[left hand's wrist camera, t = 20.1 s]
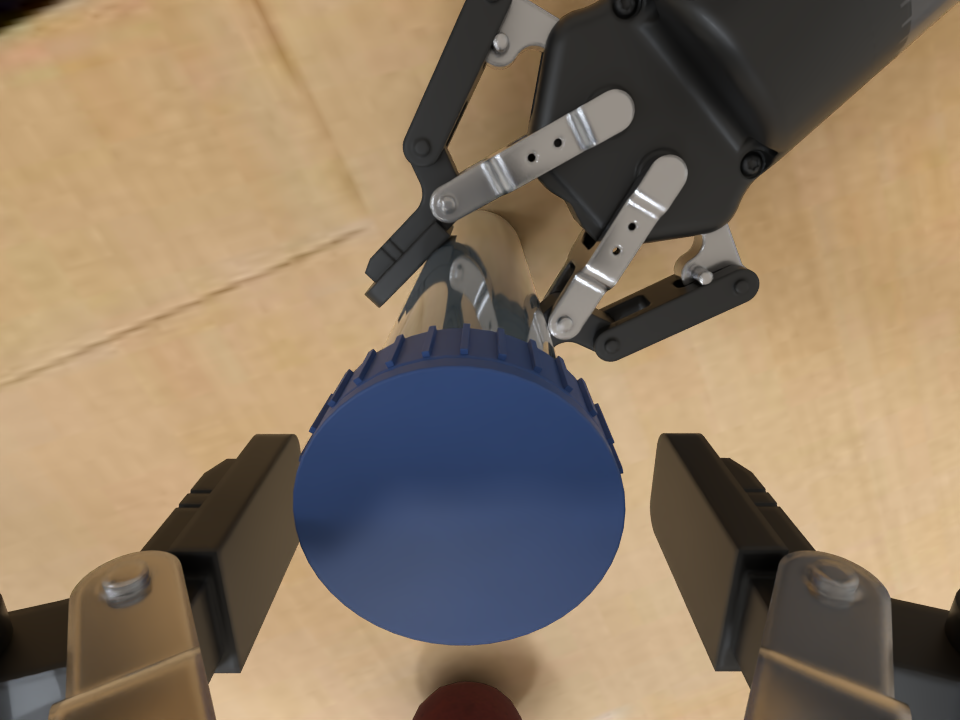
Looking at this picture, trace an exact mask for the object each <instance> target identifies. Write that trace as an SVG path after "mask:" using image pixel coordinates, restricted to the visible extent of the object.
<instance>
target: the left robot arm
mask: <svg viewBox="0 0 960 720" xmlns="http://www.w3.org/2000/svg"><path fill="white" fill-rule="evenodd" d="M300 455H301V451H300V444H299V440H298V438H297V436H296V435H295V434H256V435H254V437H253V438H252V439H251V440H250V442H249V443H248V444H247V446H246V447H245V448H244V449H243V451H242V452H241V453H240V455H239V456H238V457H237V459H226V460H224V461H223V462H221V463H220V464H218V465H217V466H215V467H214V468H212V469H210V470H209V471H207V472H206V473H204V474H203V476H202V477H201V478H200V479H199V481H198V482H197V483H196V484H195V485H194V487H193V488H192V489H191V493H190V494H187V495H186V496H185V498H184V499H183V500H182V501H181V502H180V504H179V508H176V509H175V510H174V511H173V512H172V513H171V515H170V516H169V517H168V518H167V519H166V521H165V522H164V523H163V524H162V526H161V527H160V528H159V529H158V530H157V532H156V533H155V534H154V535H153V536H152V538H151V539H150V540H149V541H148V543H147V544H146V545H145V546H144V547H143V549H142V550H141V551H140V552H135V553H131V554H127V555H124V556H121V557H118V558H116V559H113V560H111V561H109V562H107V563H105V564H103V565H101V566H99V567H98V568H96V569H95V570H93V571H92V572H90V573H89V574H88V575H86V576H85V577H84V578H83V579H82V580H81V581H80V582H79V583H78V584H77V585H76V587H75V588H74V590H73V591H72V593H71V595H70V598H69V599H65V600H61V601H57V602H52V603H47V604H43V605H38V606H34V607H29V608H24V609H20V610H15V611H11V612H7V609H6V606H5V603H4V601H3V598H2V595H1V594H0V720H216V716H215V712H214V707H213V703H212V698H211V694H210V690H209V685H208V684H209V682H210V680H211V678H212V676H213V674H214V673H241V671H242V669H243V666H244V664H245V662H246V660H247V657H248V655H249V653H250V651H251V648H252V646H253V644H254V642H255V639H256V637H257V635H258V633H259V631H260V628H261V626H262V624H263V622H264V619H265V617H266V615H267V613H268V610H269V608H270V606H271V604H272V601H273V599H274V597H275V595H276V593H277V590H278V588H279V586H280V584H281V581H282V579H283V577H284V575H285V572H286V570H287V568H288V566H289V564H290V561H291V559H292V557H293V555H294V552H295V550H296V548H297V546H298V543H299V538H298V535H297V531H296V528H295V521H294V513H293V489H294V484H295V478H296V472H297V469H298V467H299V464H300V462H299V457H300ZM765 490H766V489H765V488H764V487H763V485H762V484H761V483H760V482H759V480H758V479H757V478H756V477H755V475H754V474H753V473H752V472H751V471H749V470H747V469H746V468H744V467H743V466H741V465H740V464H738V463H737V462H735V461H733V460H732V459H730V458H720V457H719V456H718V455H717V453H716V452H715V451H714V449H713V448H712V447H711V445H710V444H709V443H708V441H707V440H706V439H705V437H704V436H703V435H702V434H700V433H663V434H661V435H660V437H659V439H658V443H657V450H656V459H655V467H654V475H653V483H652V491H651V500H650V515H651V522H652V527H653V531H654V533H655V536H656V538H657V540H658V543H659V545H660V547H661V549H662V552H663V554H664V556H665V558H666V561H667V563H668V565H669V567H670V570H671V572H672V574H673V577H674V579H675V581H676V583H677V586H678V588H679V590H680V592H681V595H682V597H683V599H684V601H685V604H686V606H687V608H688V611H689V613H690V615H691V617H692V620H693V622H694V624H695V626H696V629H697V631H698V633H699V635H700V638H701V640H702V642H703V645H704V647H705V649H706V651H707V654H708V656H709V658H710V660H711V663H712V665H713V667H714V669H715V671H742V673H743V675H744V677H745V679H746V681H747V683H748V685H749V687H750V689H751V690H750V694H749V698H748V703H747V707H746V712H745V716H744V720H960V589H959V590H958V592H957V593H956V595H955V598H954V601H953V604H952V606H951V609H950V611H948V610H943V609H938V608H934V607H929V606H925V605H920V604H915V603H911V602H906V601H902V600H897V599H893V598H890V595H889V593H888V591H887V590H886V588H885V587H884V585H883V584H882V583H881V582H880V581H879V580H878V579H877V578H876V577H875V576H874V575H872V574H871V573H870V572H868V571H867V570H865V569H864V568H862V567H861V566H859V565H857V564H855V563H853V562H851V561H849V560H847V559H844V558H842V557H839V556H836V555H833V554H829V553H825V552H819V551H816V550H815V549H814V548H813V547H812V546H811V544H810V543H809V542H808V541H807V539H806V538H805V537H804V536H803V535H802V533H801V532H800V531H799V530H798V528H797V527H796V526H795V525H794V523H793V522H792V521H791V520H790V519H789V517H788V516H787V515H786V514H785V512H784V511H783V510H782V509H781V507H777V503H776V501H775V500H774V499H773V498H772V496H771V495H770V494H769V493H768V492H766V491H765Z"/></svg>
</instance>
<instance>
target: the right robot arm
mask: <svg viewBox="0 0 960 720" xmlns="http://www.w3.org/2000/svg"><path fill="white" fill-rule="evenodd" d="M959 1H960V0H599V1H597V2H596V3H594V4H592V5H590V6H588V7H585V8H582V9H578V10H575V11H572V12H570V13H568V14H566V15H565V16H563V17H562V18H561V19H558V18H557V17H555V16H554V15H552V14H550V13H549V12H547V11H545V10H544V9H542V8H540V7H539V6H537V5H535V4H534V3H532V2H531V1H529V0H466V1H465V3H464V5H463V8H462V10H461V12H460V14H459V17H458V19H457V21H456V23H455V26H454V28H453V30H452V32H451V35H450V37H449V39H448V41H447V44H446V46H445V48H444V50H443V53H442V55H441V57H440V60H439V62H438V64H437V66H436V69H435V71H434V73H433V75H432V78H431V80H430V82H429V84H428V87H427V89H426V91H425V93H424V96H423V98H422V100H421V102H420V105H419V107H418V109H417V111H416V114H415V116H414V118H413V120H412V123H411V125H410V127H409V129H408V132H407V134H406V136H405V139H404V141H403V152H404V155H405V157H406V159H407V160H408V161H409V162H410V163H411V165H412V167H413V169H414V171H415V173H416V175H417V178H418V180H419V182H420V184H421V187H422V200H421V203H420V205H419V207H418V209H417V210H416V211H415V212H414V213H413V214H412V215H411V216H410V217H409V218H408V219H407V220H406V221H405V223H404V224H403V225H402V226H401V227H400V228H399V229H398V230H397V231H396V232H395V233H394V234H393V235H392V236H391V237H390V238H389V239H388V240H387V242H386V243H385V244H384V245H383V246H382V247H381V248H380V249H379V250H378V251H377V252H376V253H375V254H374V255H373V256H372V257H371V258H370V261H369V263H368V266H367V269H366V271H365V273H366V274H367V275H368V276H369V277H370V278H371V279H372V280H373V281H374V283H373V284H372V285H371V287H370V288H369V289H368V291H367V292H366V293H365V295H366V296H367V297H368V298H369V299H370V300H371V301H372V302H373V303H374V304H375V305H376V306H377V307H379V308H380V307H381V306H382V305H383V304H384V303H385V302H386V301H387V300H388V299H389V298H390V297H391V296H392V295H393V294H394V293H395V292H396V291H397V290H398V289H399V288H400V287H401V286H402V285H403V284H404V283H405V282H406V281H407V280H408V279H409V278H410V277H411V276H412V275H413V274H414V273H415V272H416V271H417V270H418V269H419V268H420V267H421V266H422V265H423V264H424V263H425V261H426V260H427V259H428V258H429V257H430V256H431V255H432V254H433V253H434V252H435V251H436V250H437V249H438V248H439V247H440V246H441V245H442V244H443V243H444V242H445V241H446V240H447V239H448V238H449V237H450V236H451V233H452V231H453V228H454V226H453V224H454V223H455V222H456V221H457V220H459V219H461V218H463V217H465V216H466V215H468V214H470V213H472V212H473V211H475V210H477V209H479V208H481V207H482V206H484V205H486V204H488V203H490V202H491V201H493V200H495V199H497V198H498V197H500V196H502V195H505V194H508V193H510V192H512V191H514V190H516V189H518V188H519V187H521V186H523V185H525V184H527V183H528V182H530V181H532V180H534V179H535V178H537V179H538V180H539V181H540V182H541V183H542V184H543V185H544V186H545V187H546V188H547V189H548V190H549V191H551V192H552V193H554V194H555V195H557V196H559V197H560V198H562V199H564V200H565V202H566V204H567V206H568V208H569V210H570V212H571V214H572V216H573V218H574V219H575V220H576V221H577V222H578V223H579V225H580V226H581V227H582V228H583V230H582V232H581V233H580V235H579V237H578V238H577V240H576V241H575V243H574V245H573V246H572V248H571V250H570V252H569V255H568V259H567V261H566V263H565V265H564V266H563V268H562V269H561V271H560V273H559V274H558V276H557V278H556V279H555V281H554V282H553V284H552V286H551V287H550V289H549V291H548V292H547V294H546V295H545V297H544V299H543V301H542V302H541V303H540V305H541V308H542V311H543V314H544V317H545V321H546V324H547V327H548V330H549V333H550V336H551V339H552V342H553V346H554V347H555V346H556V345H558V344H560V343H564V342H574V343H577V344H579V345H582V346H584V347H586V348H588V349H590V350H592V351H595V352H596V354H597V355H598V357H599V358H601V359H602V360H604V361H608V362H613V361H617V360H619V359H621V358H624V357H626V356H628V355H630V354H632V353H635V352H637V351H639V350H641V349H643V348H646V347H648V346H650V345H652V344H655V343H657V342H659V341H661V340H663V339H666V338H668V337H670V336H672V335H674V334H677V333H679V332H681V331H683V330H686V329H688V328H690V327H692V326H694V325H697V324H699V323H701V322H703V321H705V320H708V319H710V318H712V317H714V316H717V315H719V314H721V313H723V312H725V311H728V310H730V309H732V308H734V307H736V306H739V305H741V304H743V303H745V302H747V301H749V300H751V299H752V298H753V297H754V296H755V295H756V293H757V291H758V289H759V279H758V277H757V275H756V274H755V273H754V272H753V271H751V270H749V269H747V268H746V267H745V266H743V265H742V263H741V260H740V257H739V254H738V251H737V249H736V246H735V243H734V240H733V237H732V234H731V232H730V229H729V226H728V222H729V221H730V220H731V219H732V217H733V216H734V214H735V213H736V211H737V209H738V206H739V204H740V201H741V199H742V197H743V195H744V194H745V192H746V190H747V189H748V187H749V186H750V185H751V183H752V182H753V181H754V180H755V179H756V178H757V177H758V176H760V175H761V174H762V173H764V172H765V171H766V170H767V169H769V168H770V167H771V166H772V165H774V164H775V163H776V162H777V161H779V160H780V159H781V158H782V157H783V156H784V155H785V154H787V153H788V152H789V151H790V150H791V149H792V148H793V147H795V146H796V145H797V144H798V143H799V142H800V141H801V140H802V139H804V138H805V137H806V136H807V135H808V134H809V133H810V132H812V131H813V130H814V129H815V128H816V127H817V126H818V125H820V124H821V123H822V122H823V121H824V120H825V119H826V118H827V117H829V116H830V115H831V114H832V113H833V112H834V111H835V110H837V109H838V108H839V107H840V106H841V105H842V104H843V103H844V102H846V101H847V100H848V99H849V98H850V97H851V96H852V95H854V94H855V93H856V92H857V91H858V90H859V89H860V88H861V87H863V86H864V85H865V84H866V83H867V82H868V81H869V80H870V79H872V78H873V77H874V76H875V75H876V74H877V73H878V72H880V71H881V70H882V69H883V68H884V67H885V66H886V65H888V64H889V63H890V62H891V61H892V60H893V59H894V58H896V57H897V56H898V55H899V54H900V53H901V52H902V51H903V50H905V49H906V48H907V47H908V46H909V45H910V44H911V43H913V42H914V41H915V40H916V39H917V38H918V37H919V36H920V35H922V34H923V33H924V32H925V31H926V30H927V29H928V28H930V27H931V26H932V25H933V24H934V23H935V22H936V21H937V20H939V19H940V18H941V17H942V16H943V15H944V14H945V13H947V12H948V11H949V10H950V9H951V8H952V7H953V6H955V5H956V4H957V3H958V2H959ZM527 50H538V51H540V52H542V55H541V60H540V66H539V71H538V77H537V82H536V88H535V93H534V99H533V105H532V110H531V116H530V121H529V127H528V132H527V134H525V135H524V136H522V137H520V138H518V139H517V140H515V141H513V142H511V143H510V144H508V145H506V146H504V147H503V148H501V149H499V150H498V151H496V152H494V153H492V154H491V155H489V156H488V157H486V158H484V159H483V160H481V161H479V162H478V163H476V164H474V165H472V166H471V167H469V168H467V169H465V170H464V171H462V172H460V173H458V171H457V168H456V166H455V164H454V162H453V159H452V157H451V155H450V153H449V151H448V145H449V143H450V141H451V139H452V137H453V135H454V133H455V131H456V128H457V126H458V124H459V122H460V120H461V118H462V116H463V114H464V112H465V109H466V107H467V105H468V103H469V101H470V99H471V97H472V95H473V92H474V90H475V88H476V86H477V84H478V82H479V80H480V78H481V75H482V73H483V71H484V69H485V67H486V65H487V66H489V67H491V68H493V69H496V70H503V69H506V68H508V67H509V66H511V65H512V64H513V63H514V61H515V60H516V58H517V57H518V56H519V55H520V54H521V53H522V52H524V51H527ZM690 236H694V243H693V245H692V247H691V248H690V250H689V251H688V252H686V253H685V254H683V255H682V256H681V257H679V259H678V260H677V261H676V263H675V266H674V275H672V276H669V277H667V278H665V279H663V280H661V281H659V282H657V283H655V284H652V285H650V286H648V287H646V288H644V289H642V290H640V291H638V292H635V293H633V294H631V295H629V296H627V297H625V298H623V299H621V300H618V301H616V302H614V303H612V304H610V305H608V306H606V307H604V308H601V309H599V310H598V309H596V308H595V307H596V306H597V304H598V303H599V301H600V300H601V298H602V297H603V295H604V294H605V293H606V291H608V290H610V289H611V288H613V287H614V286H615V284H616V283H617V282H618V280H619V279H620V277H621V276H622V274H623V273H624V271H625V270H626V268H627V267H628V265H629V264H630V262H631V261H632V259H633V257H634V256H635V254H636V253H637V251H638V250H639V248H640V247H641V245H642V244H644V243H650V242H657V241H664V240H670V239H677V238H683V237H690ZM616 247H617V250H616V251H615V252H613V249H614V248H616Z"/></svg>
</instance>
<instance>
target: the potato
mask: <svg viewBox="0 0 960 720" xmlns="http://www.w3.org/2000/svg"><path fill="white" fill-rule="evenodd" d="M413 720H522V719H521V717H520V715H519V713H518V711H517V709H516V708H515V706H514V705H513V703H512V702H511V700H509V699H508V698H507V697H506V696H505V695H504V694H502V693H501V692H500V691H499V690H497V689H496V688H494V687H491V686H489V685H486V684H483V683H478V682H456V683H453V684H450V685H446V686H443V687H439V688H438V689H437V690H436V691H435V692H434V693H432V694H431V695H430V696H429V697H428V698H427V699H426V700H425V701H424V702H423V703H422V704H421V705H420V706H419V708H418V710H417V712H416V714H415V716H414V718H413Z"/></svg>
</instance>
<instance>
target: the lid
mask: <svg viewBox="0 0 960 720" xmlns="http://www.w3.org/2000/svg"><path fill="white" fill-rule="evenodd" d="M309 432H311V433H313V434H312V436H311V437H310V439H309V441H308V443H307V444H306V446H305V448H304V449H303V451H302V453H301V455H300V457H299V462H300V464H299V467H298V469H297V472H296V478H295V484H294V489H293V513H294V521H295V528H296V531H297V535H298V538H299V541H300V545H301V547H302V550H303V552H304V554H305V556H306V558H307V560H308V563H309V564H310V566H311V567H312V569H313V570H314V572H315V573H316V575H317V577H318V578H319V579H320V580H321V582H322V583H323V584H324V585H325V586H326V588H327V589H328V590H329V591H330V592H331V593H332V594H333V595H334V596H335V597H336V598H337V599H338V600H339V601H341V602H342V603H343V604H344V605H345V606H346V607H348V608H349V609H351V610H352V611H353V612H355V613H356V614H357V615H359V616H360V617H362V618H364V619H366V620H367V621H369V622H371V623H373V624H374V625H376V626H378V627H381V628H383V629H385V630H388V631H390V632H392V633H395V634H398V635H401V636H404V637H407V638H410V639H414V640H419V641H424V642H429V643H435V644H444V645H480V644H491V643H496V642H501V641H506V640H510V639H514V638H517V637H520V636H523V635H527V634H529V633H532V632H534V631H536V630H539V629H541V628H543V627H546V626H547V625H549V624H551V623H553V622H554V621H556V620H558V619H560V618H562V617H563V616H564V615H566V614H567V613H568V612H570V611H571V610H573V609H574V608H575V607H577V606H578V605H579V604H580V603H581V602H582V601H583V600H584V599H585V598H586V597H587V596H588V595H589V594H590V593H591V592H592V591H593V590H594V589H595V587H596V586H597V585H598V584H599V582H600V581H601V580H602V579H603V577H604V575H605V574H606V572H607V570H608V569H609V567H610V566H611V564H612V561H613V559H614V557H615V555H616V552H617V550H618V548H619V544H620V540H621V536H622V533H623V529H624V519H625V494H624V488H623V483H622V479H621V474H622V473H623V469H622V466H621V463H620V461H619V458H618V456H617V453H616V451H615V448H614V446H613V443H614V440H613V438H612V435H611V433H610V430H609V428H608V426H607V423H606V421H605V418H604V416H603V414H602V411H601V409H600V407H599V404H598V403H597V404H595V405H594V403H593V401H592V398H591V396H590V393H589V391H588V388H587V386H586V383H585V381H584V380H583V379H582V378H580V379H579V380H576V378H575V377H574V376H573V375H572V374H571V373H570V372H569V371H568V370H567V369H566V366H565V363H564V360H563V359H562V358H561V357H560V356H558V357H557V358H556V359H554V358H552V357H551V356H550V355H548V354H547V353H546V352H544V351H542V350H540V349H539V348H537V344H536V341H534V340H532V339H530V340H529V341H528V343H527V342H525V341H522V340H520V339H517V338H515V337H512V336H509V335H505V332H504V329H502V328H497V332H493V331H488V330H480V329H472V328H470V324H466V323H464V324H463V328H450V329H442V330H437V329H436V325H434V326H429V329H428V332H424V333H420V334H417V335H413V336H410V337H407V338H405V337H404V335H403V334H401V335H399V336H397V337H396V339H395V342H394V343H393V344H391V345H389V346H387V347H386V348H384V349H382V350H380V351H378V352H377V353H376V351H375V350H374V349H372V350H371V351H370V352H368V354H367V356H366V358H365V360H364V362H363V363H362V364H361V365H360V366H359V367H358V368H357V369H356V370H355V371H354V372H352V371H351V370H350V369H349V370H348V371H347V372H346V373H345V375H344V377H343V378H342V380H341V382H340V383H339V385H338V387H337V388H336V390H335V392H334V394H331V395H330V396H329V398H328V400H327V401H326V403H325V405H324V406H323V408H322V410H321V411H320V413H319V415H318V416H317V418H316V420H315V421H314V423H313V425H312V426H311V428H310V430H309Z"/></svg>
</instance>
